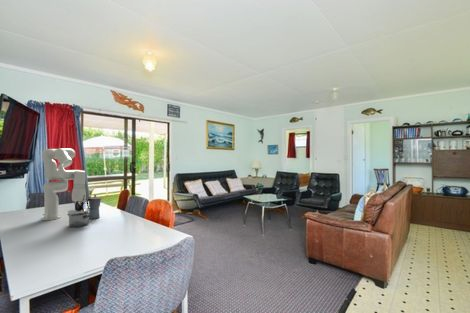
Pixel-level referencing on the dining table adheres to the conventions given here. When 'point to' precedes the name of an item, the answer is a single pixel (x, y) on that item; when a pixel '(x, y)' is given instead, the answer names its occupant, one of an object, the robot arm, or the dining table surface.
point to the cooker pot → (78, 220)
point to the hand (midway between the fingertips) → (79, 209)
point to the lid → (78, 210)
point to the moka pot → (94, 206)
